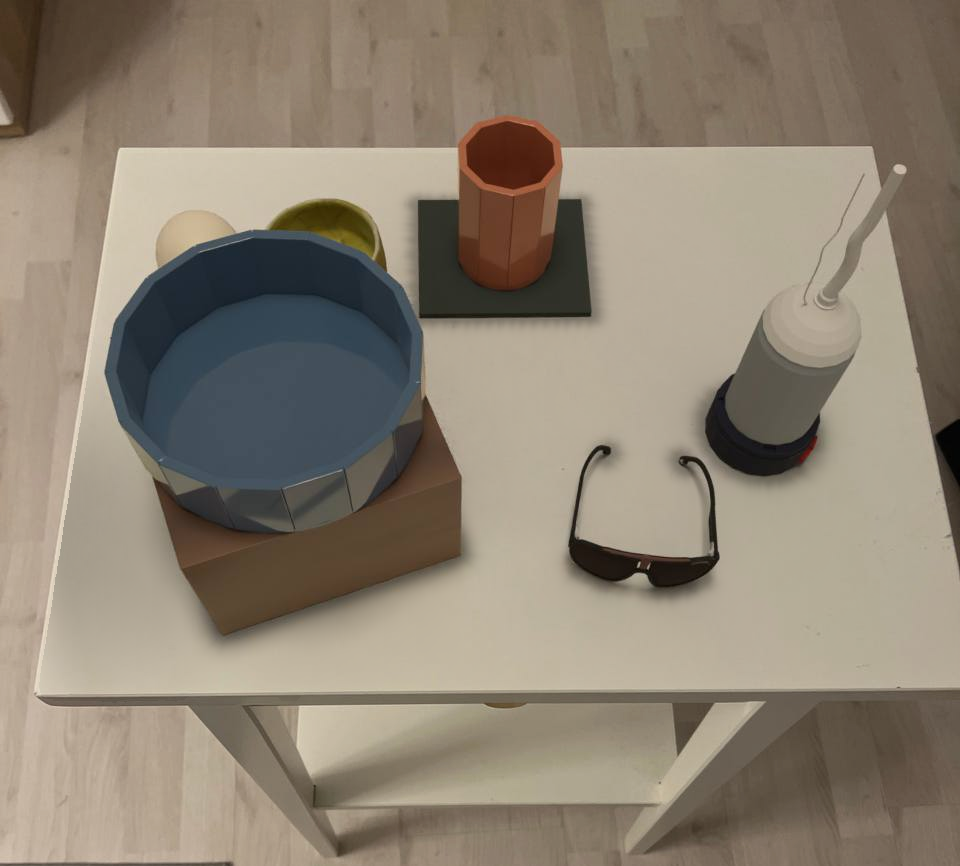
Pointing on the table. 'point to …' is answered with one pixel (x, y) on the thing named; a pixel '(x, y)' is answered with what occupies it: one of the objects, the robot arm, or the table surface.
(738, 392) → the humidifier
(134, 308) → the bowl
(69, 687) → the table surface
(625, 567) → the sunglasses
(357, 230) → the mug
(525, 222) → the cup
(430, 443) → the riser
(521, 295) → the mat
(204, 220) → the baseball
